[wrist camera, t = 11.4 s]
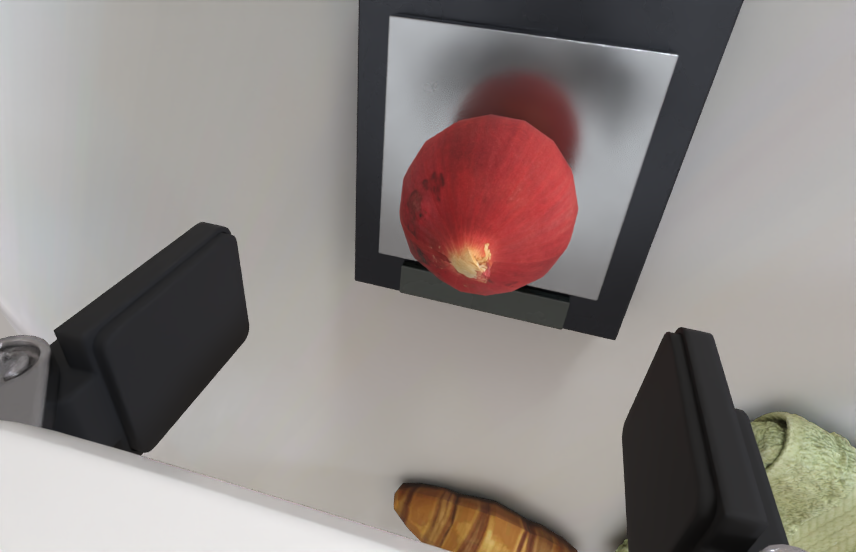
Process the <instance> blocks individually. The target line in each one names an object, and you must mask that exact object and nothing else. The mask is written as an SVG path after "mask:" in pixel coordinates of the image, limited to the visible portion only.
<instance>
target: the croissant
mask: <svg viewBox="0 0 856 552" xmlns="http://www.w3.org/2000/svg"><path fill="white" fill-rule="evenodd" d="M394 510H395V511H396V512H397V514H398V515H399V517H400V518H401V519H402V521H403V522H404V524H405V525H406V526H407V528H408V529H409V530H410V531H411V532H412V533H413V534H414V535H415V536H416V537H417V538H418V539H419V540H420V541H421V542H423V543H426V544H429V545H432V546H435V547H438V548H442V549H445V550H448V551H451V552H577V550H576V549H575V548H574V547H573V546H572V545H571V544H569V543H568V542H567V541H566V540H565V539H563V538H562V537H561V536H559V535H557V534H556V533H554V532H552V531H551V530H549V529H548V528H546V527H544V526H543V525H541V524H538V523H535V522H532V521H529V520H527V519H526V518H524V517H522V516H521V515H519V514H517V513H516V512H514V511H512V510H510V509H508V508H507V507H505V506H503V505H501V504H499V503H498V502H496V501H491V500H487V499H483V498H479V497H474V496H469V495H464V494H459V493H456V492H454V491H452V490H449V489H447V488H442V487H437V486H432V485H427V484H420V483H403V484H402V485H401V486H400V488H399V489H398V490H397V491H396V493H395V496H394Z"/></svg>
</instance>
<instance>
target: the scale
mask: <svg viewBox="0 0 856 552" xmlns="http://www.w3.org/2000/svg"><path fill="white" fill-rule="evenodd" d="M743 1H744V0H359V34H358V102H357V170H356V238H355V280H356V281H360V282H364V283H369V284H373V285H377V286H382V287H386V288H390V289H395V290H399V291H400V292H401V293H405V294H410V295H414V296H418V297H423V298H427V299H431V300H436V301H440V302H444V303H449V304H453V305H457V306H462V307H466V308H470V309H475V310H479V311H483V312H488V313H492V314H496V315H501V316H505V317H509V318H514V319H518V320H522V321H527V322H531V323H535V324H540V325H544V326H548V327H553V328H557V329H562V328H564V329H568V330H572V331H577V332H581V333H585V334H590V335H594V336H598V337H603V338H607V339H611V340H615V339H616V337H617V335H618V332H619V329H620V327H621V324H622V321H623V319H624V316H625V313H626V311H627V308H628V305H629V303H630V300H631V297H632V295H633V292H634V289H635V287H636V284H637V282H638V279H639V276H640V274H641V271H642V268H643V266H644V263H645V260H646V258H647V255H648V252H649V250H650V247H651V244H652V242H653V239H654V237H655V234H656V231H657V229H658V226H659V223H660V221H661V218H662V215H663V213H664V210H665V207H666V205H667V202H668V199H669V197H670V194H671V192H672V189H673V186H674V184H675V181H676V178H677V176H678V173H679V170H680V168H681V165H682V162H683V160H684V157H685V154H686V152H687V149H688V146H689V144H690V141H691V139H692V136H693V133H694V131H695V128H696V125H697V123H698V120H699V117H700V115H701V112H702V109H703V107H704V104H705V101H706V99H707V96H708V94H709V91H710V88H711V86H712V83H713V80H714V78H715V75H716V72H717V70H718V67H719V64H720V62H721V59H722V56H723V54H724V51H725V48H726V46H727V43H728V41H729V38H730V35H731V33H732V30H733V27H734V25H735V22H736V19H737V17H738V14H739V11H740V9H741V6H742V3H743ZM395 13H399V14H407V15H414V16H421V17H429V18H436V19H443V20H450V21H458V22H465V23H472V24H480V25H487V26H494V27H502V28H509V29H516V30H523V31H531V32H538V33H545V34H553V35H560V36H567V37H575V38H582V39H589V40H596V41H604V42H611V43H618V44H626V45H633V46H640V47H648V48H655V49H662V50H669V51H675V52H676V53H677V54H678V55H679V58H678V61H677V64H676V67H675V70H674V73H673V76H672V79H671V82H670V84H669V87H668V90H667V93H666V96H665V99H664V102H663V105H662V108H661V111H660V114H659V117H658V120H657V123H656V126H655V129H654V132H653V135H652V138H651V141H650V144H649V147H648V150H647V153H646V156H645V159H644V162H643V165H642V168H641V171H640V174H639V177H638V180H637V183H636V186H635V189H634V192H633V195H632V198H631V201H630V204H629V207H628V210H627V213H626V216H625V219H624V222H623V225H622V228H621V231H620V234H619V237H618V240H617V243H616V246H615V249H614V252H613V255H612V258H611V261H610V264H609V267H608V270H607V273H606V276H605V279H604V282H603V285H602V288H601V291H600V294H599V297H598V300H592V299H587V298H582V297H578V296H573V295H569V294H564V293H560V292H555V291H550V290H546V289H541V288H537V287H532V286H528V285H525V286H523V287H520V288H518V289H516V290H514V291H512V292H506V293H500V294H494V295H487V296H485V295H478V294H472V293H466V292H460V291H458V290H457V289H455V288H453V287H452V286H450V285H448V284H447V283H445V282H443V281H441V280H440V279H438V278H437V277H436V276H435V275H434V274H433V273H431V272H430V271H429V270H428V269H427V268H426V267H424V266H423V265H422V264H421V263H420V262H418V261H414V260H409V259H405V258H400V257H396V256H391V255H386V254H382V253H379V235H380V212H381V189H382V166H383V143H384V120H385V98H386V75H387V52H388V29H389V16H390V15H392V14H395Z"/></svg>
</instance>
